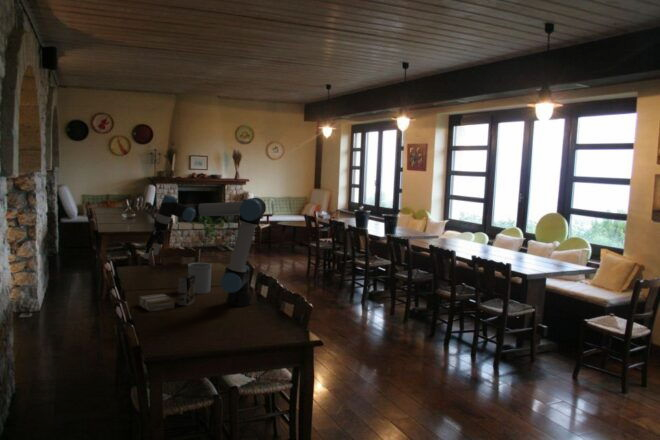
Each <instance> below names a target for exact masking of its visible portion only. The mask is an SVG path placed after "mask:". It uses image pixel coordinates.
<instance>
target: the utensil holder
mask: <svg viewBox="0 0 660 440" xmlns="http://www.w3.org/2000/svg"><path fill="white" fill-rule="evenodd" d="M212 267H213V265H212V263H210V262H209V263H208V262H191V263H188V264H187V269H188V271H187V273H188V274H187V275H193V276H195V295H201V294H202V295H203V294H208V293H210V292H211V287H212V286H211V283H212V281H211V280H212Z"/></svg>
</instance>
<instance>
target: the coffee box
mask: <svg viewBox="0 0 660 440" xmlns="http://www.w3.org/2000/svg"><path fill="white" fill-rule="evenodd" d="M177 289H178V290H177V292H178V293H177V305H178V306H185V307H187V306H189V305H192V304H194V303H195V299H196V298H195V295H196V294H195V276H193V275H188V274H185V275H183V276H180V277H178V288H177Z"/></svg>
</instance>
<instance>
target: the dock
mask: <svg viewBox="0 0 660 440" xmlns="http://www.w3.org/2000/svg"><path fill="white" fill-rule="evenodd" d="M175 301H176V300H175V298H173V297H170V296H169V295H168V294H167V295H166V294H165V293H157V294H149V295H141V296H140V295H139V297H138V303H139V304H138V305H139V306H140V307H141V308H143V309H145V310H147V311H149V312H156V311H157V312H158V311H164V310H171V309H175Z"/></svg>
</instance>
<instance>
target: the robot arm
mask: <svg viewBox="0 0 660 440" xmlns="http://www.w3.org/2000/svg"><path fill="white" fill-rule="evenodd" d="M266 205H267V204H266V203H265V201H264V200H263V199H262V198H259V197H251V198H247V199H242V201H228V202H227V201H225V202H210V203H209V202H207V203H190V204H183V203H179V202H178V198H177V197H175V196H174V195H169V194H166V195H164V196H163V198H162V200H161V204H160V206H159V210H158V213H156V217H155V219H156V220H154V224H153V226H154V227H153V228H155V229H154V230H152V232H151V234H150V236H149V238H148V240H147V242H146V244H145V247H146V248H145V251H144V253H143V256H142V258H143V259H146V260H149V257H150V256H151V255H150V254H151V251H152V248H153V246H154V244H155V246H154V249H153V252H152V255H155V256H158V254H159V252H160V249H161V246H162V245H164V242H165V241H164V239H165V234H166V231H167V230H168V227H169V224H170V222H171V219H172V216H175V217H177V218H179V219H182V220H183V221H188V222H192V221H193V220H194V219H195V218H196V217H215V216H217V217H219V216H238V215H239V217H238V222H239V223H240V225H239V228H238V231H237V235H236V239H235V243H234V246H233V249H232V255H231V257H230V262H229V263H228V264H226V267H225V269H224V274H223V275H222V276H221V279H220V286H221V288H222V289H223V290H224V292H227V295H226V298H225V305H226V306H230V307H247V306H250V305H252V298H251V297H252V296H251V294H250V291H249V290H250V289H249V288H250V267H249V265H246V263H247V261H248V257H249V253H250V249H251V245H252V242H253V239H254V234H255V230H256V228H257V227H258V226H259V225H260V222H261V218H262V216H264V214H265V213H266V211H267V206H266ZM155 242H156V243H155Z"/></svg>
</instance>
